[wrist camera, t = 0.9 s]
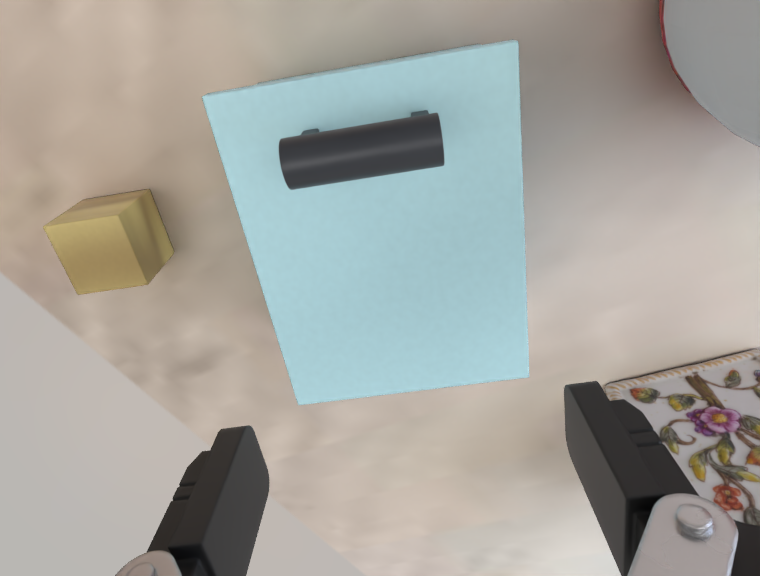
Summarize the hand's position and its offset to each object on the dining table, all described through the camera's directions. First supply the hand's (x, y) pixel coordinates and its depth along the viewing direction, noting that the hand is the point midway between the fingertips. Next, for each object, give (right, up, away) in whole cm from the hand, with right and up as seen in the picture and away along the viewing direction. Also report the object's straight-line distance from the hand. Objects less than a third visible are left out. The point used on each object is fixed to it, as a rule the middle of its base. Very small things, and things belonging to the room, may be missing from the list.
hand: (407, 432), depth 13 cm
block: (-17, +8, +21) cm, 28 cm away
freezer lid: (0, +6, +12) cm, 13 cm away
